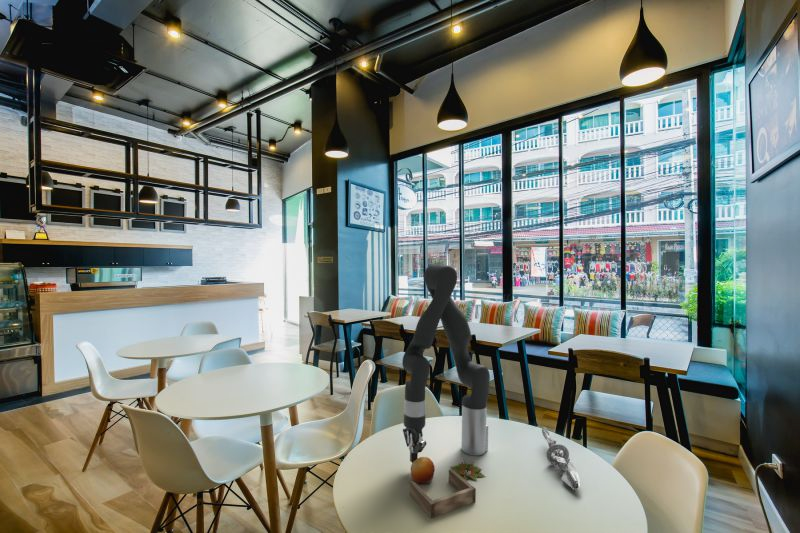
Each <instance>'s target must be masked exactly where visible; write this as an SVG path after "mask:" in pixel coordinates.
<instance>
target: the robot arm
mask: <svg viewBox="0 0 800 533" xmlns="http://www.w3.org/2000/svg"><path fill="white" fill-rule="evenodd" d="M423 273H424V274H423V276H424V277H423V279H424V284H425V286H426V288H427V290H428V293H429V294H430V296H431V301H430V303H429V305H428V306H427V307H426V309H425V310H424V312H423V313H422V314H421V316H420V318H419V319H418V321H417V323H416V325H415V326H416V327H415V330H414V333H413V337H412V340H411V341H410V343H409V344H408V346H407V348H406V351H405V352H404V354H403V356H402V360H401V361H402V363H401V364H402V367H403V369H404V371H406V372H408V373H409V374H410V380H408V381H407V382H405V386H404V402H403V426H404V427H405V428H402V433H403V436H404V440H405V444H406V447H407V448H408V450H409V462H411V464H412V463H413V462H414V461H415V460H416V459H418V456H419V453H422V452H423V450H424V449H425V447H426V446H427V443H428V442H427V441H426V440H424V439H423V436H424V434H423V428H425V426H426V415H427V413H426V411H427V410H426V409H427V406H426V405H427V404H426V387H427V386H426V385H427V383H428V379H429V376H430V369H431V367H430V362H429V360H428V359H427V358H426V356H424V355H423V354H424V352H425V350H430V349H431V347H432V345H433V343H434V340H435V336H436V332H437V330H438V327H439V323H440V321H441V324H442V328H443V331H444V333H445V336H446V339H447V341H448V344H449V347H450V349H451V350H450V351H451V353H452V356H453V360H454V364H455V369H456V373H457V376H458V379H459V381H460V382H461V384H462V385H465V386H466V387H469V388H471V391H470V392H471V393H468V394H465V395H464V396H463V397H462V399H461V400H462V402H461V403H462V404H461V405H462V406H461V451H462V452H463V453H465V454H467V455H469V456H482V455H484V454H485V453H486V452H487V451H488V450H489V425H488V424H487V406H488V405H487V403H488V400H489V395H490V383H491V382H490V381H491V378H490V377H491V375H490V371H489V369H488V367H487V366H485V365H482V364H479V363H475V362H473V361H472V358H471V355H470V353H469V344H470V341H471V336H472V332H471V327H470V326H469V323H468V319H467V317H466V315H465V313H464V312H463V311H462V309H461V308H460V306H459V305H457V303H456V302H455V300H454V299H453V297H452V295H453V291H454V290H455V288H456V285H457V283H458V273H457V271H456V269H455V268H454V267H453V266H451V265H446V264H445V265H444V264H430V265H429V266H428V267H427V268H426V269H425V270H424V272H423Z"/></svg>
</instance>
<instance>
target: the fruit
mask: <svg viewBox="0 0 800 533" xmlns="http://www.w3.org/2000/svg"><path fill="white" fill-rule="evenodd" d="M435 470H436V468H435V465H434V462H433V461H432V460H431V459H430V458H429V457H428V456H420V457H419V458H418V459H416V460H415V461H414V462H413V463H412V462H411V465H410V476H411V478H412V479H413V481H414V482H415V483H418V484H421V485H423V484H431V481H432V479H433V478H435V477H434V474H435Z"/></svg>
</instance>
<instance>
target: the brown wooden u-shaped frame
mask: <svg viewBox="0 0 800 533" xmlns="http://www.w3.org/2000/svg"><path fill="white" fill-rule="evenodd" d="M448 483H449V484H450V485H452V487H454V488H455V489H456V490H457V491H456V492H453V493H450V494H447V495H444V496H441V497H438V498H435V499H433V500H432V498H431V497H430V496H429V495H428V494H427V493H425V491H424V490H423V489H422V488H421V487H420V486H419V485H418V484H417V482H416V481H415V480H411V481H409V496H410V497H411V498H412V499H413V500H414V501H415V502H416V504H418V506H419V508H421V509H422V510H423V511H424V513H425V514H426V515H428V517H429V518H430V519H433V518H437V517H438V516H440V515H444V514H447V513H450V512H452V511H454V510H458V509H460V508H463V507H465V506H468V505H470V504H473V503H476V502H477V501H476V498H477V497H476V496H477V495H476V494H477V492H476V491H477V490H476V487H475V486H473V485H472V484H471V483H470V482H468V481H467V479H466V480H465V479H464V478H462V477H461V476H460V474H457V473H456V472H455V470H454V469H452V468H451V469H448Z"/></svg>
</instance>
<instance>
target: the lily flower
mask: <svg viewBox="0 0 800 533" xmlns="http://www.w3.org/2000/svg"><path fill="white" fill-rule="evenodd" d="M466 460H467V459H466V458H465V459H463V460H462V461H461V463H458V465H454V466H453V465H452V466H450V468H451V469H453V470H454V471H455V472H456V473H457V474H459V475H460V476H461V477H462V478H464V479H465V480H466V481H467V480H469V479H470V478H471V479H472V480H474V482H477V477H484V478H485V477H486V476H485V475H484V474H483V473H482V472H481V470H482V468H480V467H478V466H476V465H475V462H474V461H473V462H472V460H469V461H468V463H467V461H466ZM468 473H469V474H468Z"/></svg>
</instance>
